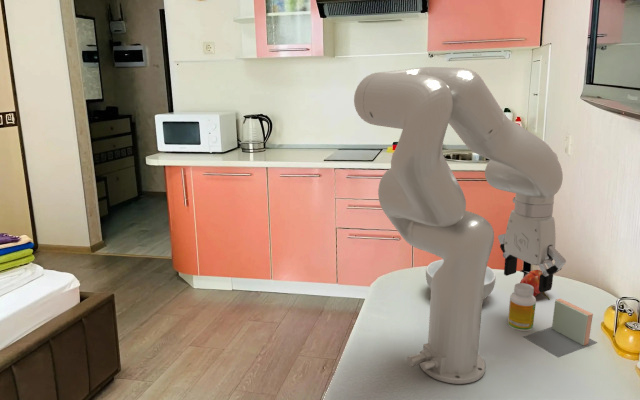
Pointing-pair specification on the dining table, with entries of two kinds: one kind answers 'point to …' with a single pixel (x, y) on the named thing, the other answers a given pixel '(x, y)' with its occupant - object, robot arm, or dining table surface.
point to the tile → (572, 321)
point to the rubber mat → (556, 342)
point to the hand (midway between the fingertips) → (526, 282)
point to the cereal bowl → (488, 281)
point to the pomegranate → (532, 280)
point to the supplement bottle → (522, 307)
